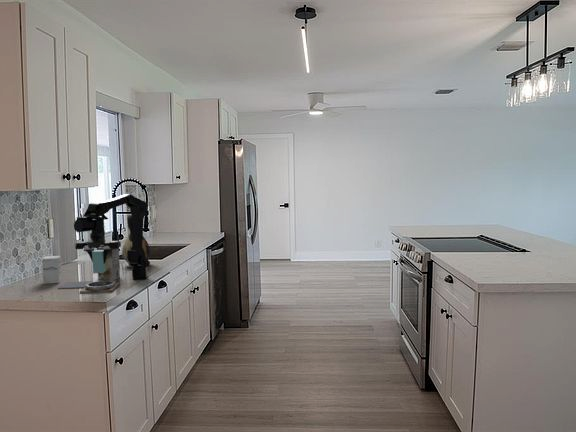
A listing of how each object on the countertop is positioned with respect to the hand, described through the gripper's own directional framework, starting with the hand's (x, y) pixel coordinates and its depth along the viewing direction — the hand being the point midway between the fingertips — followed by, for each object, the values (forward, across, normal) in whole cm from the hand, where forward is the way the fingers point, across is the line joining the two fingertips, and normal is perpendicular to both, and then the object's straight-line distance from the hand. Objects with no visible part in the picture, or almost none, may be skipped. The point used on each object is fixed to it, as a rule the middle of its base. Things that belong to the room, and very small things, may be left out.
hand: (99, 263), depth 212 cm
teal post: (+4, 0, 0) cm, 4 cm away
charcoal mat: (+12, -14, +9) cm, 20 cm away
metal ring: (+12, 0, 0) cm, 12 cm away
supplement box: (+12, -28, +18) cm, 36 cm away
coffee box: (+12, -2, +22) cm, 25 cm away
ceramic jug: (+12, +5, +53) cm, 55 cm away
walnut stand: (+12, 0, 0) cm, 12 cm away
